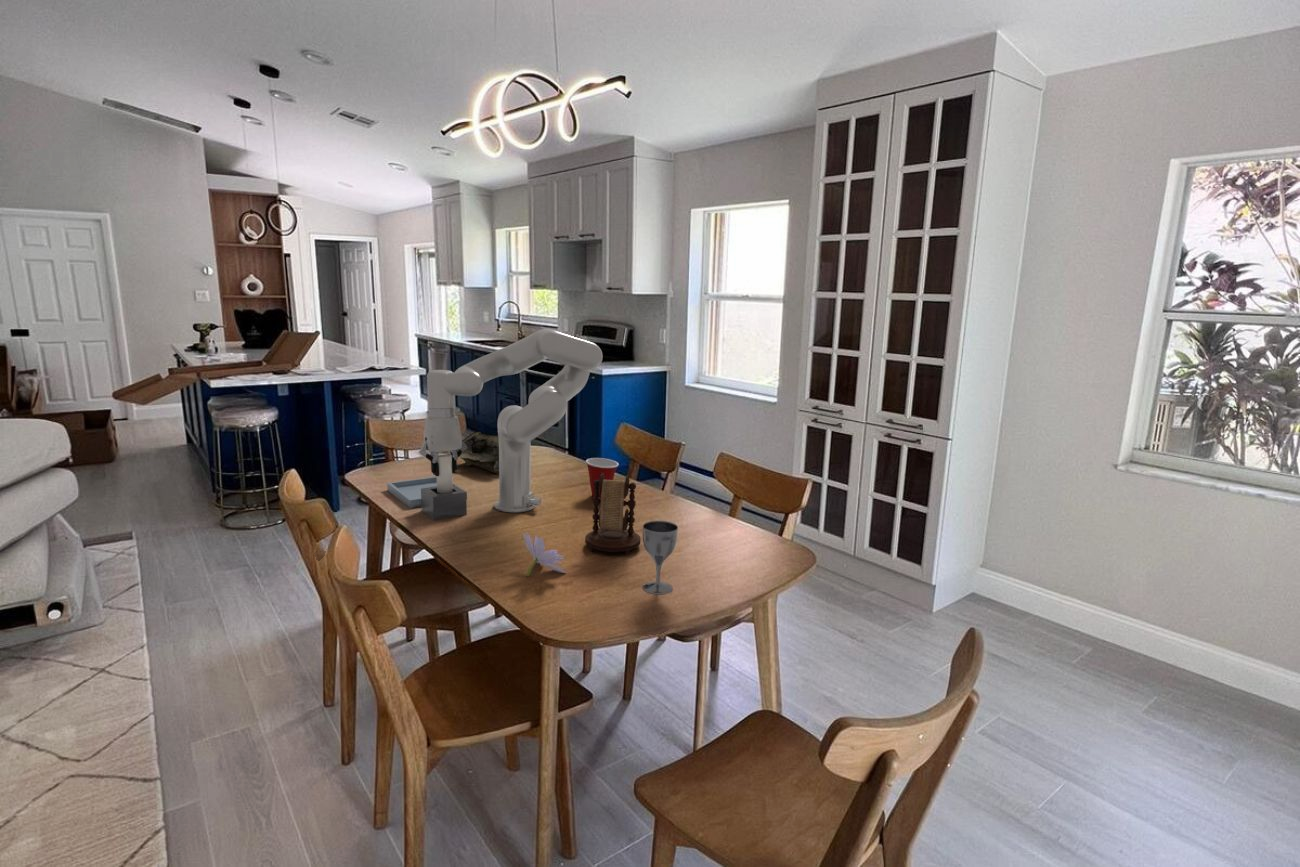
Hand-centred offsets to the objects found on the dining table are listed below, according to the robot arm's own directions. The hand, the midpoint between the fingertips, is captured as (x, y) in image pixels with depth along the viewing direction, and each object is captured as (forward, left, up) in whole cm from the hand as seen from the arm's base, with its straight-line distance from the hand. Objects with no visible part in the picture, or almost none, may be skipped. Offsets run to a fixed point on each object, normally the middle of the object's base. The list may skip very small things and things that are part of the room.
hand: (444, 473), depth 203 cm
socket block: (0, 0, -12) cm, 12 cm away
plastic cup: (-36, -36, -12) cm, 52 cm away
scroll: (-56, +5, -12) cm, 57 cm away
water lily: (-47, +27, -13) cm, 56 cm away
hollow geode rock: (+16, -48, -13) cm, 52 cm away
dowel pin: (0, 0, -7) cm, 7 cm away
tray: (+16, -13, -12) cm, 24 cm away
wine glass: (-75, +25, -12) cm, 80 cm away
